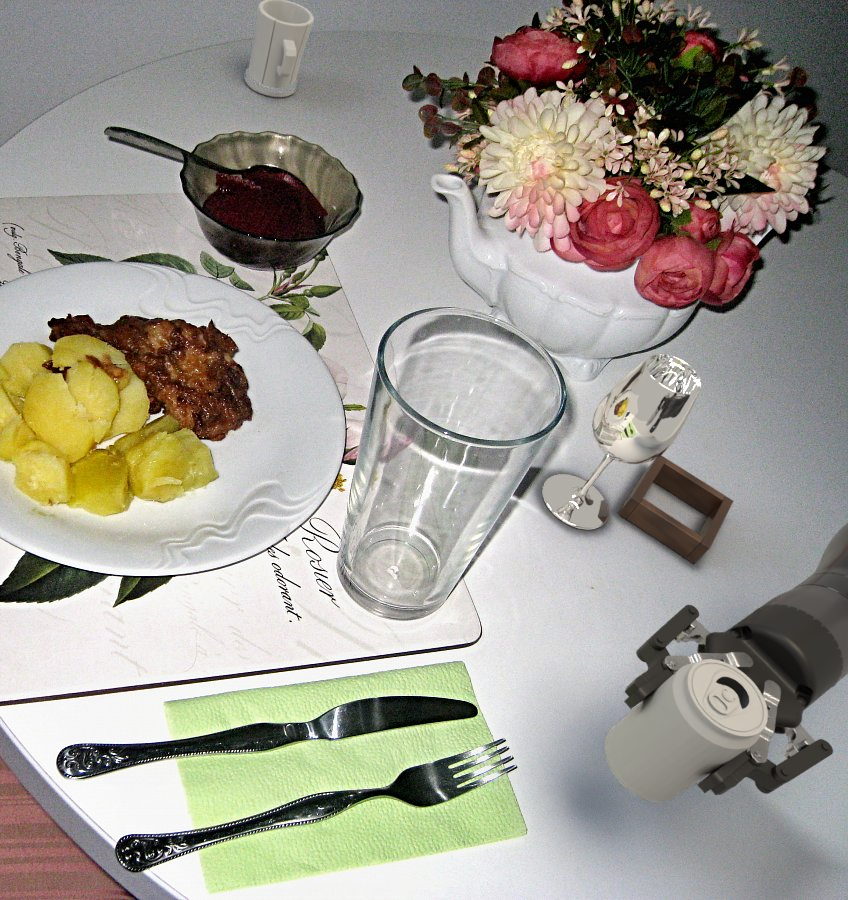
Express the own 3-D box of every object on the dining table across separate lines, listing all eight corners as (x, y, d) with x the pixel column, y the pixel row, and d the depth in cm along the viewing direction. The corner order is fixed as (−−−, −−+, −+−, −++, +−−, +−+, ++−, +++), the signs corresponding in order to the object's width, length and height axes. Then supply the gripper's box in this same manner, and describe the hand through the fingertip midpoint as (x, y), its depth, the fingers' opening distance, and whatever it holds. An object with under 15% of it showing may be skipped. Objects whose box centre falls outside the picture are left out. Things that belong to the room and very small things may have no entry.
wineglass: (527, 494, 98) (619, 363, 83) (564, 464, 102) (658, 334, 88) (585, 543, 95) (691, 415, 80) (620, 509, 99) (727, 383, 85)
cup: (313, 96, 148) (333, 24, 140) (277, 109, 143) (295, 35, 134) (268, 66, 152) (284, -6, 143) (231, 78, 147) (246, 4, 138)
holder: (718, 516, 102) (733, 500, 100) (693, 564, 96) (709, 548, 94) (645, 470, 104) (659, 453, 102) (617, 513, 99) (631, 497, 97)
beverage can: (694, 779, 70) (792, 712, 61) (645, 822, 67) (741, 758, 58) (632, 712, 73) (717, 638, 64) (583, 750, 70) (665, 678, 61)
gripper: (750, 552, 72) (621, 634, 64) (908, 700, 65) (785, 813, 57) (698, 601, 78) (573, 682, 70) (838, 743, 71) (717, 851, 63)
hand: (669, 741), depth 64 cm, fingers closed on beverage can, 6 cm apart
